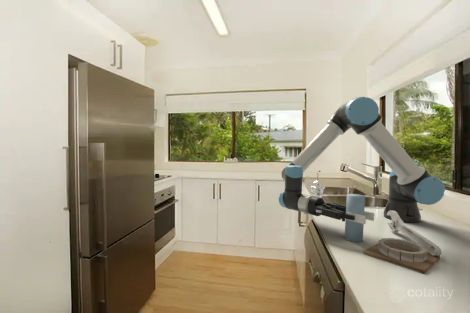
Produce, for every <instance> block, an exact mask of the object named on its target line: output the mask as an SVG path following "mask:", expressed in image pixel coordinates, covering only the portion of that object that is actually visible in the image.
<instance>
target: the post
mask: <svg viewBox="0 0 470 313" xmlns="http://www.w3.org/2000/svg"><path fill="white" fill-rule="evenodd" d="M345 201H346V205H345V206H346V212H350V213H355V214H359V215H364V211H365V207H366V206H365V204H366V196H365V195H363V194H358V193H347V194H346V200H345ZM364 225H365V224H362V223H357V222H353V221H349V220H346V219H345V223H344V239H345V240H346V241H349V242H353V243H363V240H364Z"/></svg>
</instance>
